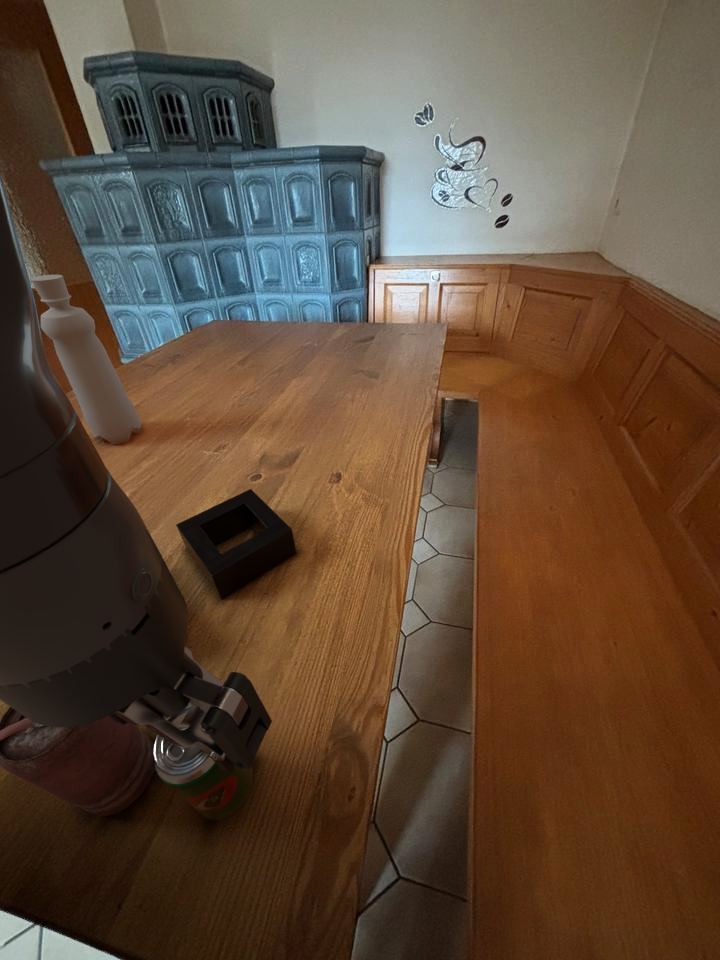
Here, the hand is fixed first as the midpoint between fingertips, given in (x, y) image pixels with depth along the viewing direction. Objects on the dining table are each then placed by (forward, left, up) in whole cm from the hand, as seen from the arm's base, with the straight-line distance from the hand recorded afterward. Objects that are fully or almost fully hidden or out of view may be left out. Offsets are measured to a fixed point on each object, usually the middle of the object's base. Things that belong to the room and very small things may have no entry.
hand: (183, 730), depth 26 cm
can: (-7, +7, -13) cm, 17 cm away
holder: (+14, +24, -13) cm, 31 cm away
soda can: (0, 0, -13) cm, 13 cm away
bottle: (+10, +70, -13) cm, 72 cm away
